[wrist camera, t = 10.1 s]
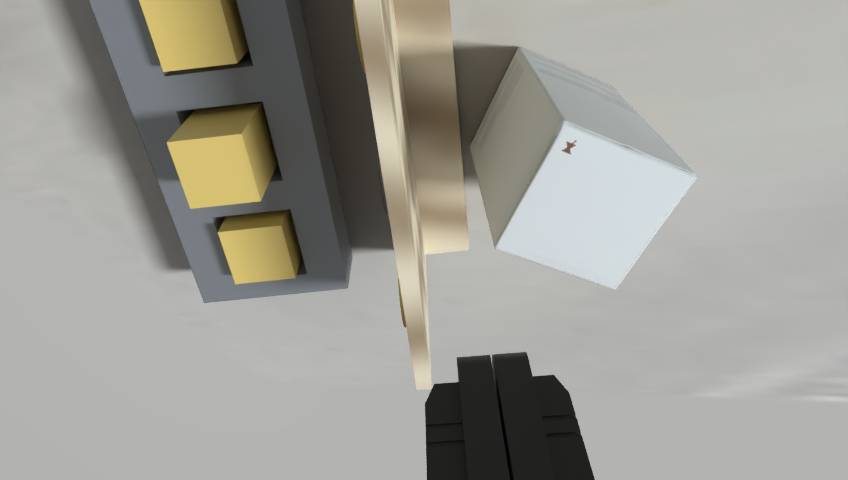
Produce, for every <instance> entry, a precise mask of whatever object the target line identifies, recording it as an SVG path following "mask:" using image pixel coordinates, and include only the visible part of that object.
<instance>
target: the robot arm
mask: <svg viewBox="0 0 848 480" xmlns="http://www.w3.org/2000/svg"><path fill="white" fill-rule="evenodd" d="M457 367H458V380H459V382H456V383H442V384H434V386H433V388H432V390H431V393H430V395H429V397H428V399H427V401H426V403H425V416H426V454H427V455H426V456H427V480H595V479H594V476H593V473H592V469H591V466H590V462H589V459H588V456H587V452H586V449H585V445H584V442H583V438H582V436H581V433H580V429H579V425H578V421H577V419H576V417H575V411H574V408H573V405H572V401H571V398H570V394H569V392H568V391H567V390H566V389H565V388H564V386H563V385H562V384H561V383H560V382H559V381H558V379H557V378H556V377H555V376H554V375H547V376H533V377H532V373H531V368H530V364H529V360H528V356H527V353H526V352H520V353H507V354H494V355H492V363H491V358H490V355H483V356H470V357H457Z"/></svg>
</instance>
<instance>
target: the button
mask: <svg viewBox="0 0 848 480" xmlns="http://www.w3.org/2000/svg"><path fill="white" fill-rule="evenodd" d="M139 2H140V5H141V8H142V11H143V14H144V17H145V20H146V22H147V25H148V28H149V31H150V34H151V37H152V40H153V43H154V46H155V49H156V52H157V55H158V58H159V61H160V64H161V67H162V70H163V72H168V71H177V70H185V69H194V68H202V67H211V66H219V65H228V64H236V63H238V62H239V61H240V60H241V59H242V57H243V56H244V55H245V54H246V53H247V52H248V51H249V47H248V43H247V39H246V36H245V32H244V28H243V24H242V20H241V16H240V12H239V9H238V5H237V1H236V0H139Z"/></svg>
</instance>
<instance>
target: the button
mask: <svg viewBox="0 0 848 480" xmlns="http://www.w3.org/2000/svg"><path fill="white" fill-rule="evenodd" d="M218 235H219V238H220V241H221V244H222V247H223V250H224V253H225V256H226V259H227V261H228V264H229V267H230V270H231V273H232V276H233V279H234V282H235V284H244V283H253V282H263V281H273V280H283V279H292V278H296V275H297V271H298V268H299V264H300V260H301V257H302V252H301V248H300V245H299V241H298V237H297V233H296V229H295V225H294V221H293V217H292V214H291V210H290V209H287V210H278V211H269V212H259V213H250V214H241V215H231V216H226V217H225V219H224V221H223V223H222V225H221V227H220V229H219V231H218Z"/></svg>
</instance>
